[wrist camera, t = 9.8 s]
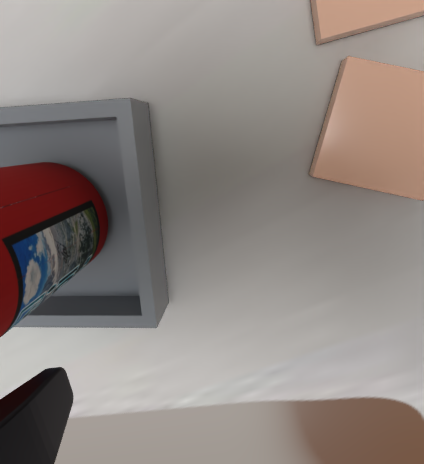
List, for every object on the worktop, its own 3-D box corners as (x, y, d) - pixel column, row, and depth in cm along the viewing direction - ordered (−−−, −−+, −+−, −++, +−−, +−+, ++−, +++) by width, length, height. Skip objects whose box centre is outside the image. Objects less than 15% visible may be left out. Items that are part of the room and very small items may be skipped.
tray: (148, 103, 19) (130, 97, 16) (168, 302, 23) (157, 327, 20) (-52, 117, 21) (-103, 115, 18) (-4, 302, 24) (-39, 326, 21)
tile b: (456, 84, 17) (471, 81, 16) (412, 196, 19) (423, 200, 18) (341, 60, 18) (348, 56, 16) (308, 173, 19) (312, 176, 18)
